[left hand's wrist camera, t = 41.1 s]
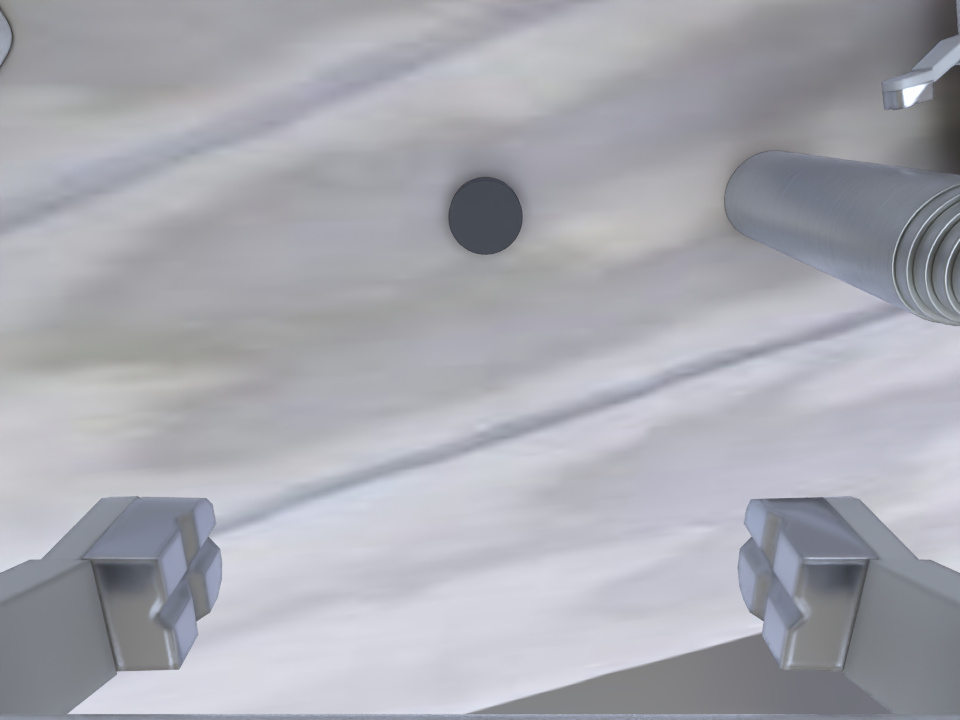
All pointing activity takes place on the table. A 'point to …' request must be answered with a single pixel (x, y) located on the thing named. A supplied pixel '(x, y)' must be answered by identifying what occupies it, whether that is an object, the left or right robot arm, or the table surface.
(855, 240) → the bottle
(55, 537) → the table surface
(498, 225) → the cap
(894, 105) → the right robot arm
